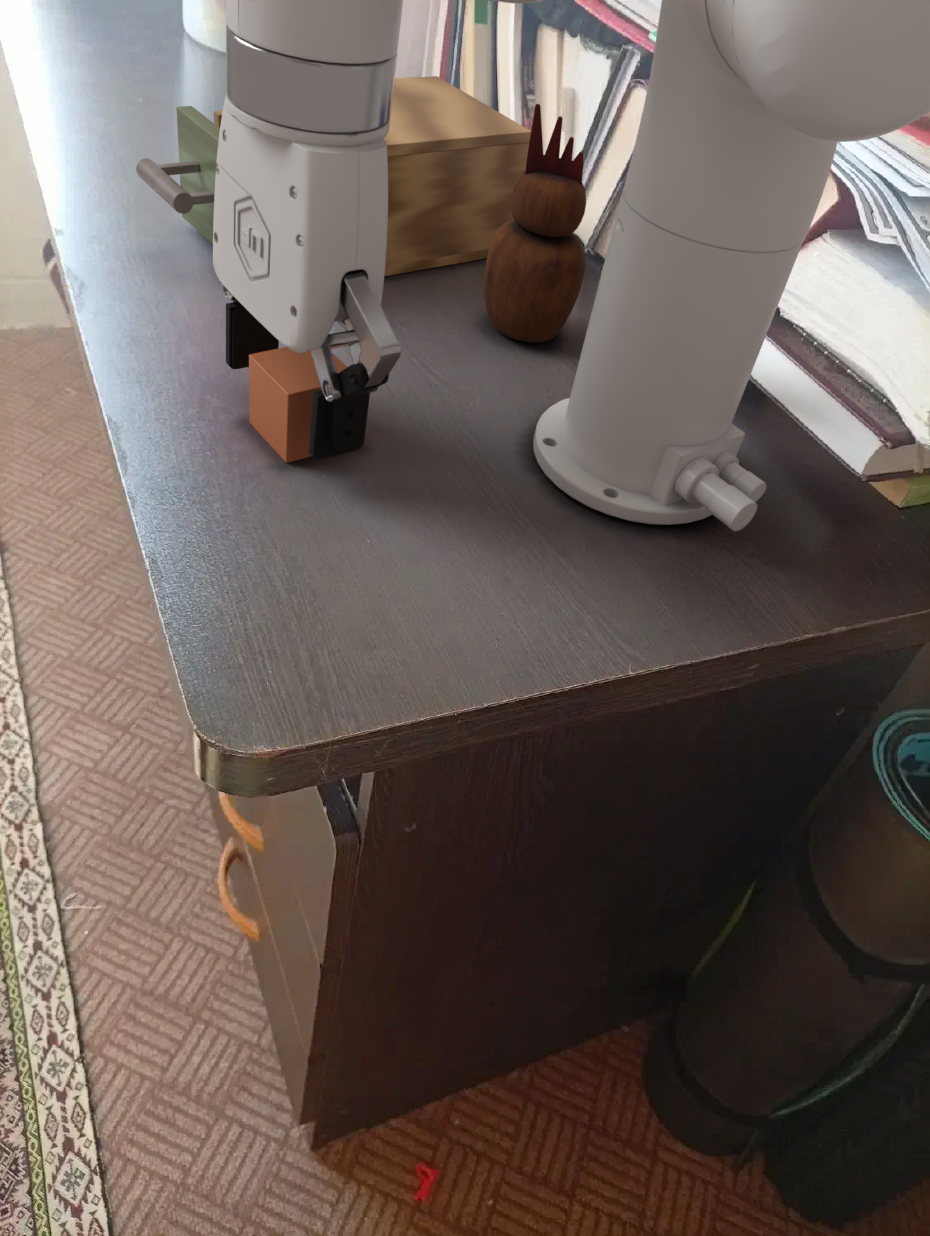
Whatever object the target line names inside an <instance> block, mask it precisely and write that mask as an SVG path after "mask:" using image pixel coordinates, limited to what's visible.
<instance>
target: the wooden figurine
mask: <svg viewBox="0 0 930 1236" xmlns="http://www.w3.org/2000/svg"><path fill="white" fill-rule="evenodd" d="M541 109H542V107H541V104H540V103H536V104H535V105H534V112H533V116H532V117H533V118H532V124H531V129H530V131H531V135H530V142H529V148H528V154H527V162H526V168H525V171H524V172H523V173H521V174H520V175H519V176H518V178H517V180H516V182H515V184H514V188H513V192H512V202H511V209H512V215H513V218H514V220H510V221H508V222H506V223H504V224H502V226H501V227H500V228H499V229H498V230H497V231H496V232H495V233H494V236H493V238H492V241H491V243H490V247H489V252H488V256H487V258H486V261H485V267H484V276H483V298H484V306H485V310H486V313H487V316H488V319H489V321H490V323H491V324H492V326H493V327H494V328H495V330H496V331H498V332H499V333H501V334H502V335H504V336H506V337H508V338H510V339H513V340H517V341H520V342H525V343H529V344H541V343H546V342H548V341H550V340H552V339H554V338H555V336H556V335H557V334H558V333H559V332H560V331H561V329H562V328H564V325H565V324H566V322H567V321H568V319H569V318H570V315H571V314H572V311H573V309H574V306H575V304H576V302H577V300H578V298H579V295H580V291H581V288H582V284H583V280H584V276H585V271H586V264H587V263H586V262H587V261H586V255H585V249H584V247H583V245H582V244H581V242H580V240H579V239H578V238H577V237H576V235H575V234H573V233H575V231H576V230H578V228H579V226H580V225H581V223H582V221H583V218H584V216H585V213H586V207H587V196H586V195H587V194H586V186H585V185H584V183H583V173H584V151H583V150H582V151H579V152H578V153H577V155H576V156H575V158H573V153H574V143H575V138H574V137H573V136H570V137H569V138H568V140H567V143H566V145H565V147H564V149H563V153H562V154H561V156H560V153H561V141H562V130H563V116H561V115H559V116H557V120H556V122H555V125H554V128H553V130H552V133H551V136H550V139H549V141H548V144H547V147H546V150H545V153H544V144H543V143H544V141H543V126H542V124H543V123H542V111H541Z"/></svg>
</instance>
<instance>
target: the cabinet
mask: <svg viewBox="0 0 930 1236" xmlns="http://www.w3.org/2000/svg"><path fill="white" fill-rule="evenodd" d="M530 135H531V129H528V128H527V127H526V126H523V124H520V123H518V122H516V121H515V120H513V119H512V118H510V117H508V116H506V115H505V114H503V113H501V112H500V111H498V110H496V109H494V108H492V107H490V106H489V105H487V104H485V103H484V102H482V101H481V100H479V99H477V98H475V97H473V96H472V95H470V94H468V93H467V92H465V91H463V90H462V89H459V88H458V87H456V86H455V85H453V84H452V83H449V82H448V81H446V80H445V79H443V78H441V77H439V76H437V75H431V76H411V77H395V81H394V90H393V99H392V108H391V117H390V125H389V132H388V134H387V135H386V136H385V137H384V140H385V141H386V142H387V161H388V226H387V247H386V263H385V275H384V277H389V276H394V275H400V274H401V275H402V274H406V273H411V272H418V271H423V270H429V269H435V268H441V267H446V266H452V265H458V264H463V263H469V262H475V261H481V260H485V259H486V260H487V256H488V252H489V247H490V243H491V241H492V238H493V236H494V233H495V232H496V231H497V230H498V229H499V228H500V227H501V226H502V224H504V223H506V222H508V221H510V220H514V218H513V215H512V209H511V202H512V192H513V188H514V184H515V182H516V180H517V178H518V176H519V175H520V174H521V173H523V172H524V171H525V170H526V162H527V154H528V148H529V142H530Z"/></svg>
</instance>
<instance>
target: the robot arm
mask: <svg viewBox="0 0 930 1236" xmlns="http://www.w3.org/2000/svg"><path fill="white" fill-rule="evenodd" d="M494 1H495V2H500V3H506V4H530V3H536V2H537V3H538V2H542V1H543V0H494ZM660 3H661V4H660V10H659V16H658V23H657V31H656V37H655V43H654V51H653V57H652V62H651V68H650V74H649V78H648V79H649V80H648V83H647V89H646V94H645V98H644V103H643V107H642V113H641V118H640V122H639V126H638V129H637V134H636V138H635V144H634V147H633V149H632V150H633V151H632V155H631V159H630V161H629V166H628V169H627V175H626V178H625V182H624V186H623V188H622V192H621V196H620V200H619V203H618V204H619V205H618V206H617V207H618V208H617V212H616V214H615V219H614V223H613V227H612V231H611V235H610V239H609V242H608V246H607V251H606V254H605V258H604V262H603V266H602V270H601V274H600V278H599V282H598V284H597V285H598V286H597V288H596V289H597V290H596V294H595V297H594V301H593V305H592V309H591V313H590V317H589V321H588V324H587V327H586V333H585V337H584V341H583V344H582V347H581V352H580V356H579V360H578V364H577V368H576V372H575V374H574V375H575V376H574V380H573V384H572V387H571V391H570V394H569V397H567V398H564V399H562V400H560V401H558V402H555V403H553V405H551V406H549V407H548V408H547V409H546V410H545V411H544V412H543V413H542V414H541V415H540V417H539V419H538V421H537V423H536V427H535V430H534V435H533V440H532V443H533V447H532V448H533V453H534V456H535V460H536V462H537V464H538V465H539V467H540V468H541V470H542V472H543V473H544V474H545V476H546V477H548V479H549V480H550V481H551V482H552V483H553V484H554V485H555V486H556V487H557V488H558V489H560V490H561V491H563V493H565V494H566V495H568V496H569V497H571V498H572V499H574V500H576V501H578V502H579V503H581V504H583V505H584V506H586V507H588V508H589V509H592V510H595V511H598V512H600V513H602V514H605V515H607V516H611V517H614V518H617V519H621V520H624V521H628V522H634V523H640V524H645V525H659V526H660V525H661V526H662V525H663V526H671V525H682V524H688V523H693V522H698V521H701V520H704V519H706V518H708V517H711V516H713V517H715V518H716V519H718V520H719V521H720V522H721V523H723V524H724V525H725V526H726V527H728V528H729V529H730V530H731V531H733V532H738V531H741V530H742V529H744V528H745V527H746V526H748V524H749V523H750V522H751V521H752V520H753V518H754V516H755V515H756V514H757V510H758V507H759V506H758V504H757V501H759V499H760V498H762V497H763V495H764V494H765V492H766V490H767V486H768V485H767V483H766V482H765V481H764V480H762V479H761V478H759V477H758V476H756V474H754V473H753V472H751V471H750V470H746V469H745V468H744V467H743V466H741V465H740V459H739V458H738V457H737V455H738V453H739V450H740V448H741V447H742V443H743V441H744V439H745V436H746V433H745V432H744V431H743V430H742V429H740V428H739V427H738V426H736V425H735V424H734V423H733V420H734V418H735V417H736V413H737V410H738V408H739V406H740V403H741V400H742V398H743V395H744V392H745V390H746V387H747V385H748V383H749V380H750V377H751V376H752V375H751V374H752V373H753V369H754V367H755V364H756V362H757V360H758V357H759V354H760V352H761V349H762V347H763V344H764V342H765V340H766V337H767V334H768V331H769V329H770V327H771V324H772V322H773V319H774V316H775V314H776V311H777V309H778V306H779V305H780V301H781V299H782V296H783V293H784V291H785V289H786V286H787V283H788V281H789V278H790V276H791V273H792V271H793V268H794V266H795V263H796V261H797V259H798V256H799V253H800V250H801V248H802V246H803V243H804V242H805V240H806V239H807V236H808V233H809V231H810V228H811V225H812V224H813V220H814V218H815V215H816V213H817V210H818V207H819V204H820V202H821V199H822V198H823V197H822V196H823V194H824V191H825V187H826V185H827V182H828V179H829V177H830V176H829V175H830V172H831V169H832V165H833V161H834V157H835V154H836V151H837V146H838V143H844V142H849V143H850V142H860V141H864V140H865V141H866V140H870V139H875V138H878V137H882V136H885V135H888V134H891V133H892V132H896V131H897V130H900V129H903V128H904V127H906V126H908V125H910V124H913V123H914V122H915V121H917V120H919V119H921V118H922V117H924V116H926V115H927V114H929V113H930V0H661V2H660ZM403 5H404V0H225V17H226V18H225V24H226V25H225V97H224V102H223V107H222V110H223V112H222V119H221V126H220V132H219V142H218V151H217V163H216V177H215V195H214V221H213V245H212V264H213V265H212V266H213V270H214V272H215V274H216V276H217V278H218V280H219V282H220V284H221V290H222V293H223V297H224V298H225V300H226V301H228V302H227V303H225V363H226V365H227V366H228V367H229V368H230V369H231V370H240V369H245V368H249V355H250V354H254V353H259V352H264V351H269V350H274V349H279V348H280V347H279V346H280V345H279V344H280V343H281V344H282V345H283V346H284V347H287V348H289V349H290V350H292V351H294V352H296V353H306V352H308V351H309V350H311V354H312V357H313V361H314V364H315V368H316V372H317V375H318V379H319V382H320V386H321V390H319V391H316V392H313V402H312V416H311V430H310V443H309V453H310V454H311V455H312V456H311V457H313V458H314V459H315V460H316V461H320V460H323V459H324V460H325V459H328V458H332V457H335V456H339V455H343V454H346V453H351V452H354V451H358V450H360V449H361V448H363V446H364V444H365V439H366V438H365V437H366V430H367V424H368V423H367V422H368V415H369V414H368V413H369V405H370V396H371V393H375V392H377V391H378V389H379V387H381V386H383V385H385V384H386V383H387V382H388V381H389V378H390V377H389V376H390V373H391V372H392V370H393V369H394V367H395V365H396V364H397V363H398V361H399V359H400V357H401V355H402V345H401V343H400V340H399V339H398V336H397V335H396V333H395V331H394V329H393V327H392V325H391V323H390V321H389V319H388V317H387V315H386V313H385V311H384V310H383V307H382V301H383V295H384V294H383V293H384V284H385V276H384V275H385V263H386V247H387V226H388V161H387V142H386V141H385V140H384V137H385V136H386V135H387V134H388V132H389V125H390V117H391V108H392V99H393V90H394V81H395V78H396V70H397V64H398V63H397V61H398V50H399V41H400V33H401V25H402V15H403ZM230 301H232V302H230ZM334 323H338V324H339V325H340V326H341V327H342V328H343V329H345V330H344V331H340V332H339V331H338V332H333V333H330V332H331V330H332V328H333V326H334ZM342 347H348V349H349V353H350V357H351V360H352V361H351V362H352V364H350V365H348V366H347V368H346V369H344V370H342V371H341V372H339V373H337V369H336V366H335V362H334V358H333V355H332V353H333V351H332V349H333V350H334V349H338V348H342Z"/></svg>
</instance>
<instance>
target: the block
mask: <svg viewBox="0 0 930 1236" xmlns="http://www.w3.org/2000/svg"><path fill="white" fill-rule="evenodd" d="M332 355H333V358H334V362H335V366H336V369H337V373H339V372H341V371H342V370H344V369H346V368H347V367H348V366H347V365H346V364H345V363H344V362H343V361H341V359H339V358H338V357H337V356H336V354H334V353H333V352H332ZM319 390H321V386H320V382H319V379H318V375H317V372H316V368H315V364H314V361H313V357H312V354H311V350H309V351H308V352H306V353H296V352H294V351H292V350H290V349H289V348H287V347H286V346H284V347H279V349H274V350H269V351H264V352H259V353H254V354H250V355H249V367H248V423H249V424H250V426H252V427H253V428H254V429H255V431H256V432H257V433H258V434H259V435H260V436H261V437H262V438H263V439H264V440H265V442H266V443H267V444H268V445H269V446H270V448H272V449H273V450H274V452H276V454H277V455H278V456H279V457H280V458H281V459H282V460H283V462H284V463H286V464H289V463H292V462H295V461H300V460H303V459H307V458H310V457H313V456H312V455H311V454H310V453H309V443H310V430H311V416H312V402H313V392H316V391H319Z"/></svg>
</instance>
